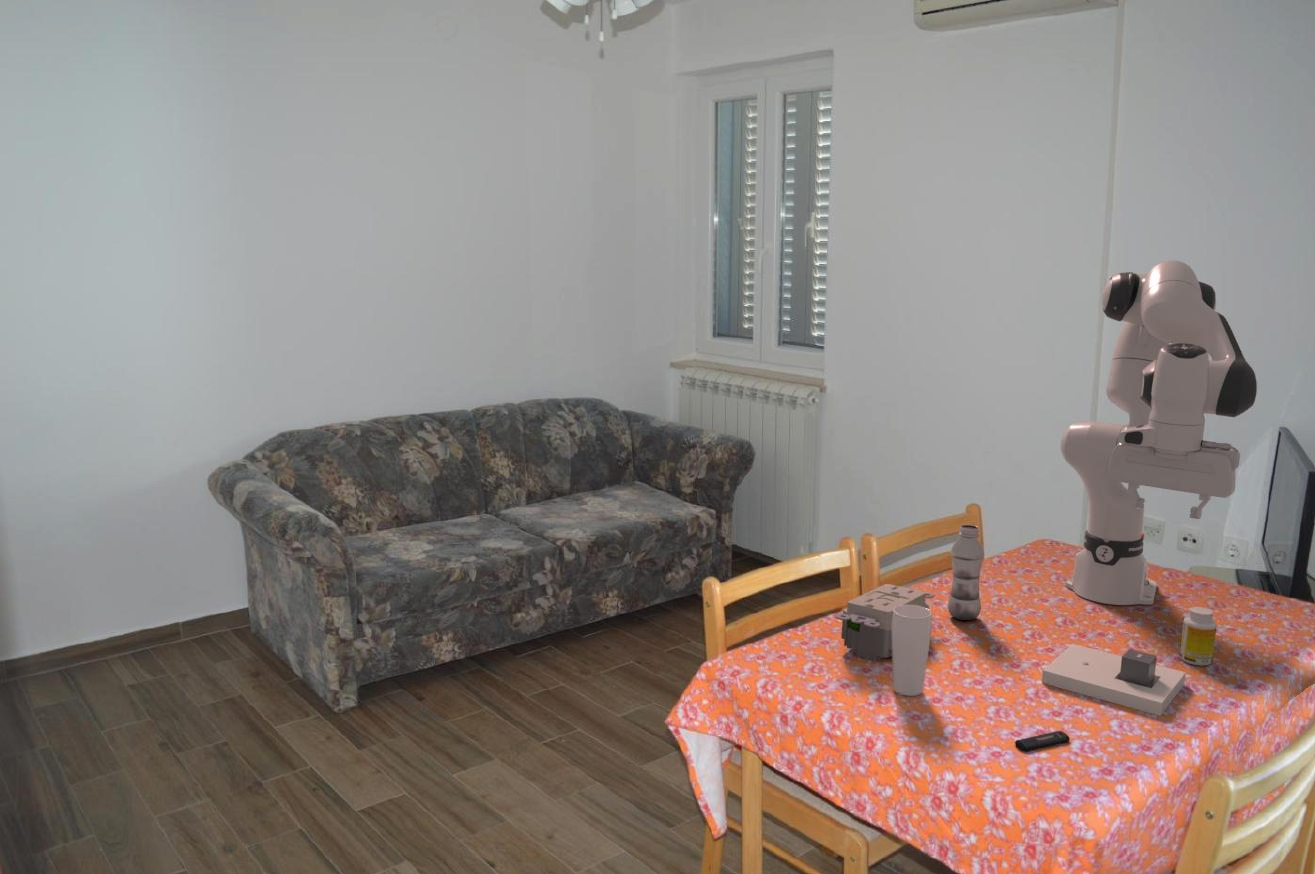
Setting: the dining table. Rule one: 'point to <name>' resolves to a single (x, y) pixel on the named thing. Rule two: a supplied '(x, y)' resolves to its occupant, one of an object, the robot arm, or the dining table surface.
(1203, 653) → the supplement bottle
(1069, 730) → the dining table surface
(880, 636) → the electrical outlet
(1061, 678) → the outlet plate
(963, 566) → the plastic bottle
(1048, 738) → the usb stick
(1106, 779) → the dining table surface
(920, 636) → the drinking glass
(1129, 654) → the block
